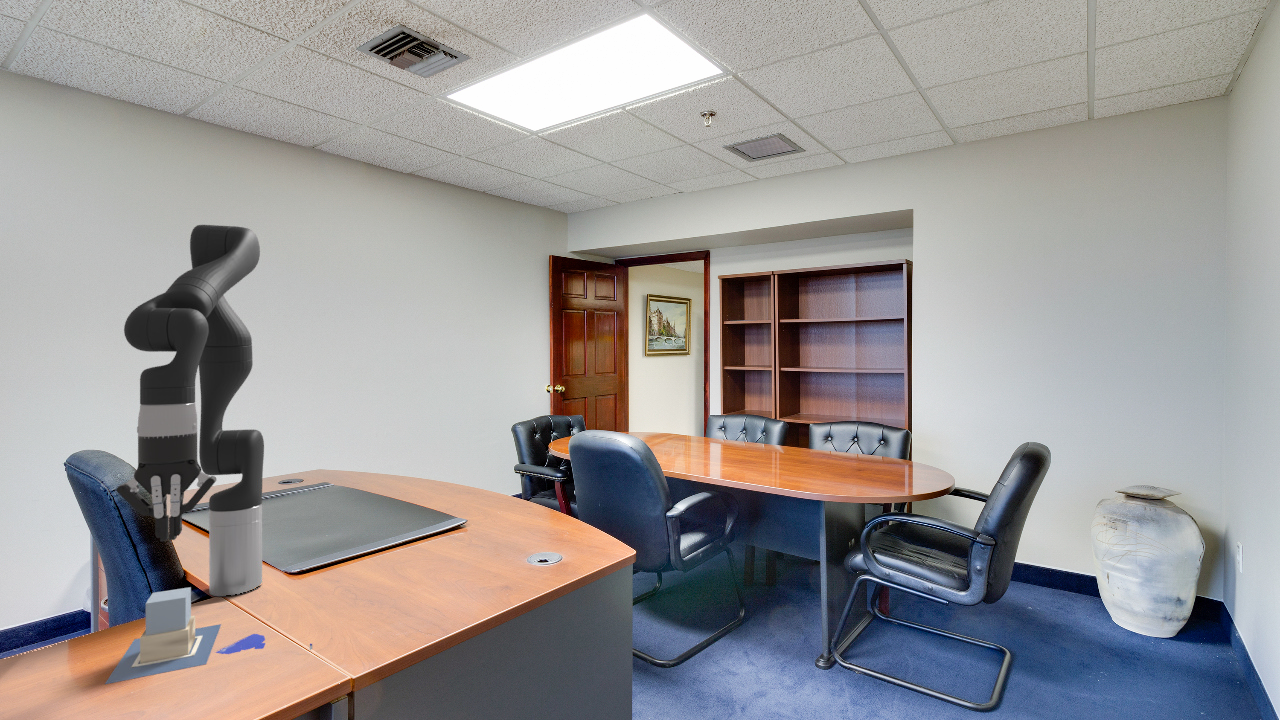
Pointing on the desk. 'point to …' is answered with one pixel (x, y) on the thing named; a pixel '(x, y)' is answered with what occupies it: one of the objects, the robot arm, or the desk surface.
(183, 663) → the board
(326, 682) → the desk surface
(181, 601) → the slate block
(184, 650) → the maple base block
